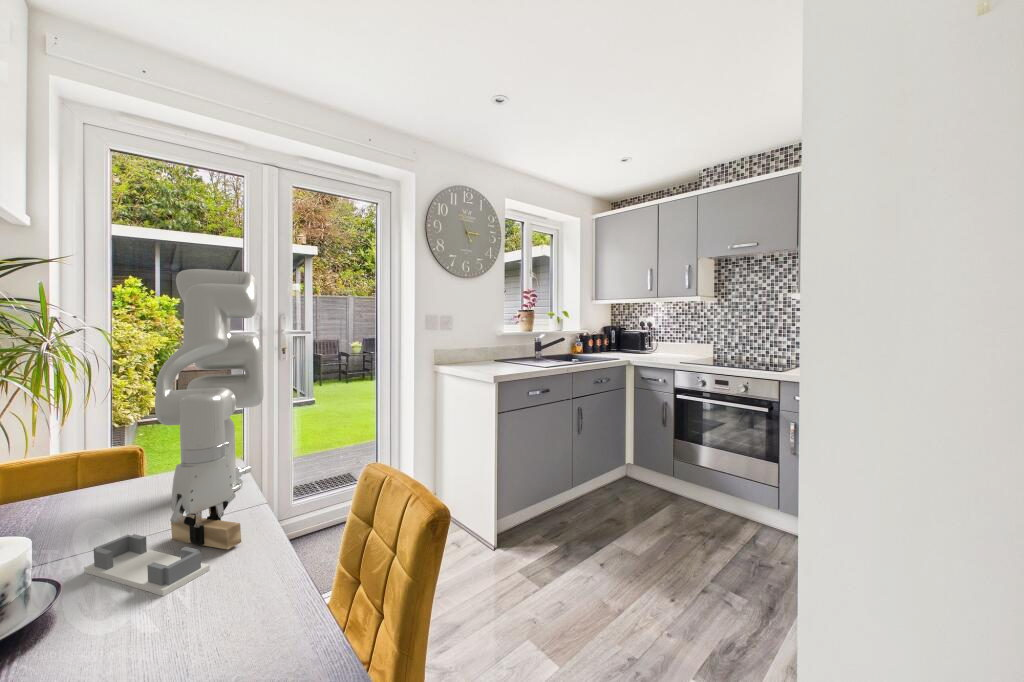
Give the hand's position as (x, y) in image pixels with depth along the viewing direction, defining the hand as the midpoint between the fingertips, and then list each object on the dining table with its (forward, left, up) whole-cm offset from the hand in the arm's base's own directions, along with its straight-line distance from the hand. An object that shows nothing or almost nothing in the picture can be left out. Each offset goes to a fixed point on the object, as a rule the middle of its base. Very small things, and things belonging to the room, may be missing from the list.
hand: (206, 538), depth 90 cm
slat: (0, 0, 0) cm, 0 cm away
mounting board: (+11, 0, -1) cm, 11 cm away
